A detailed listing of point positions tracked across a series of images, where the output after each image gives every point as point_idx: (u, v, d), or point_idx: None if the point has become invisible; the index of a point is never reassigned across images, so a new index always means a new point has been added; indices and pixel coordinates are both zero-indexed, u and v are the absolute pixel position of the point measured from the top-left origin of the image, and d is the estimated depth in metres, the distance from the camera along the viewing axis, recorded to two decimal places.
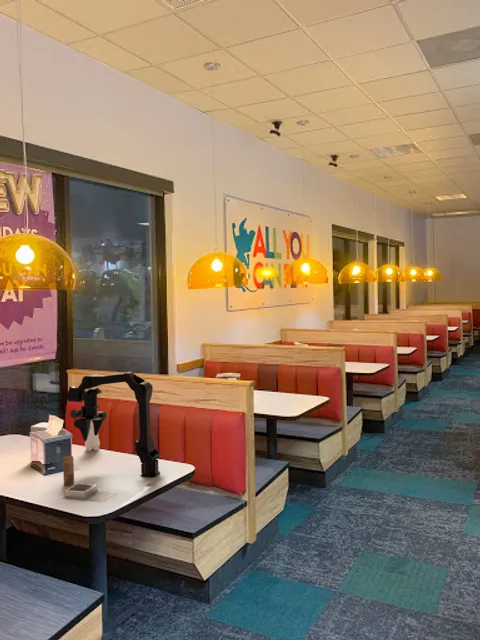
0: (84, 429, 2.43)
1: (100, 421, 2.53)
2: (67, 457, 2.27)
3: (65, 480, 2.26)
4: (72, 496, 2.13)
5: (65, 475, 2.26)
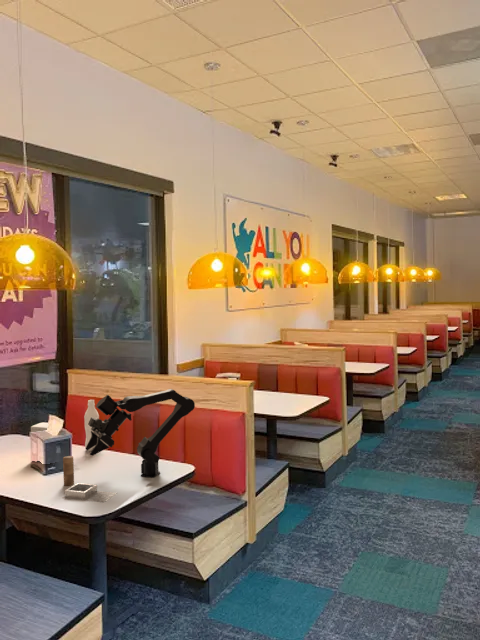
0: (101, 445, 2.27)
1: (100, 439, 2.38)
2: (67, 457, 2.27)
3: (65, 481, 2.26)
4: (72, 496, 2.13)
5: (65, 475, 2.26)
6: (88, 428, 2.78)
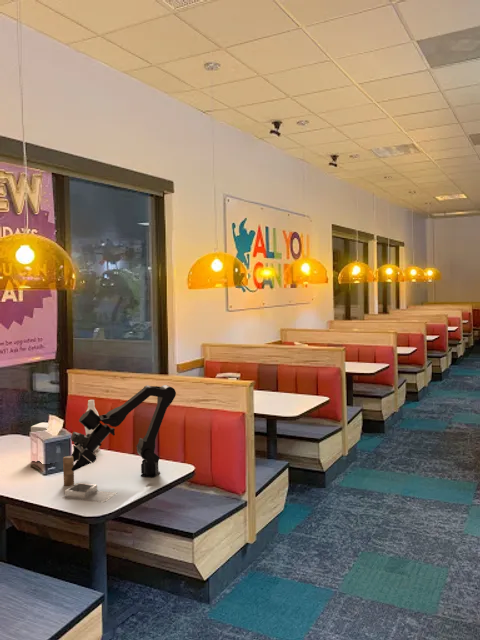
0: (82, 461, 2.24)
1: None
2: (67, 457, 2.27)
3: (65, 480, 2.26)
4: (72, 496, 2.13)
5: (65, 475, 2.26)
6: None
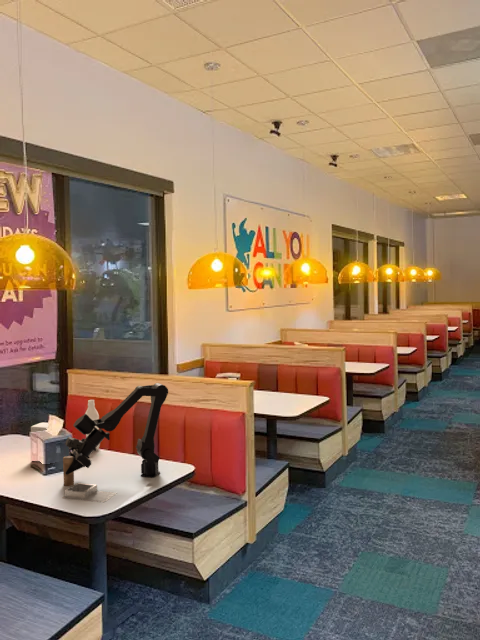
0: (76, 464, 2.25)
1: None
2: (67, 457, 2.27)
3: (65, 481, 2.26)
4: (72, 496, 2.13)
5: (65, 475, 2.26)
6: None
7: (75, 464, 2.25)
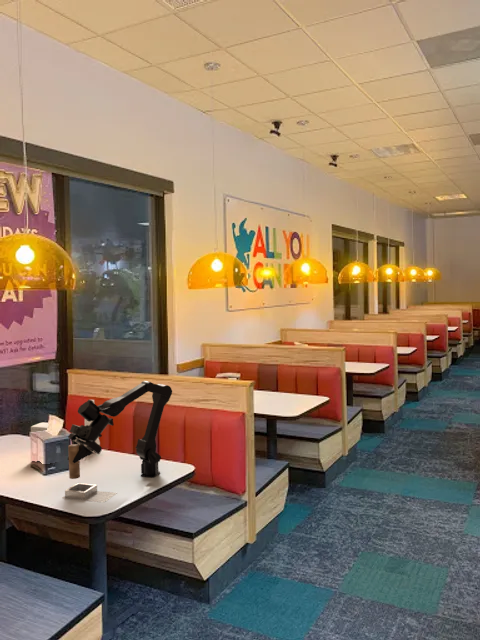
0: (84, 452, 2.19)
1: None
2: (72, 445, 2.19)
3: (72, 470, 2.18)
4: (72, 496, 2.13)
5: (72, 464, 2.18)
6: None
7: (83, 452, 2.18)
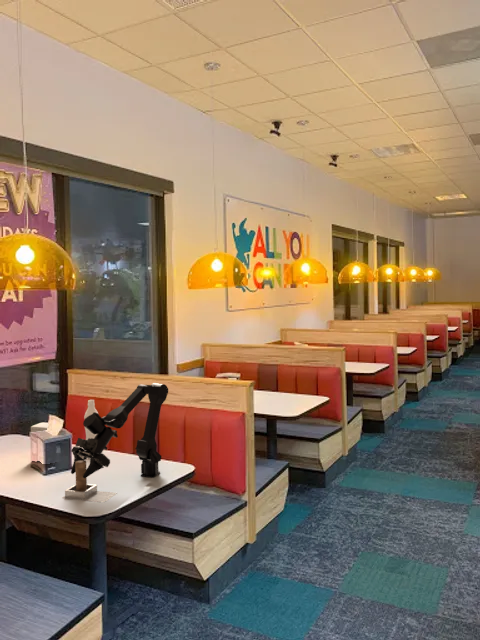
0: (94, 466, 2.15)
1: None
2: (80, 462, 2.16)
3: (79, 486, 2.14)
4: (72, 496, 2.13)
5: (79, 481, 2.14)
6: None
7: (93, 466, 2.14)
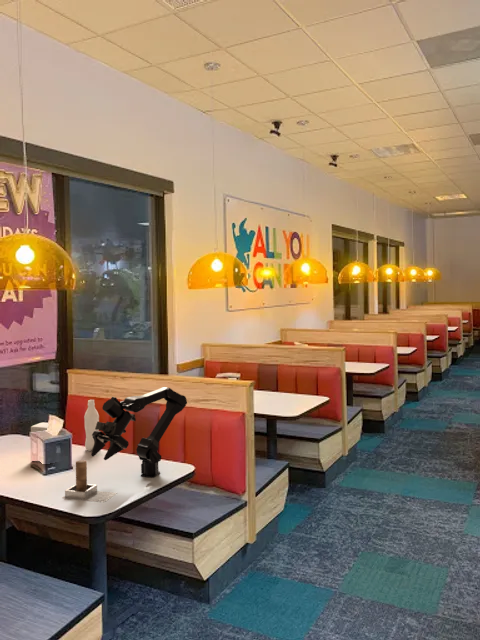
0: (114, 448, 2.21)
1: (103, 444, 2.30)
2: (80, 461, 2.16)
3: (80, 486, 2.14)
4: (72, 496, 2.13)
5: (80, 480, 2.14)
6: (88, 428, 2.78)
7: (113, 448, 2.21)
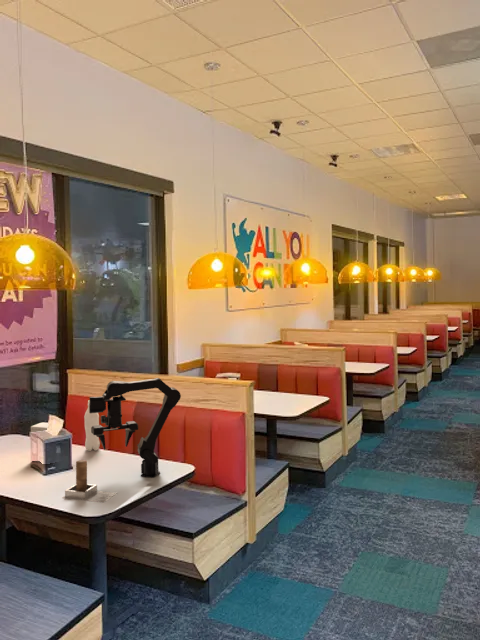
0: None
1: (128, 432, 2.38)
2: (80, 461, 2.16)
3: (80, 486, 2.14)
4: (72, 496, 2.13)
5: (80, 480, 2.14)
6: (88, 428, 2.78)
7: None
